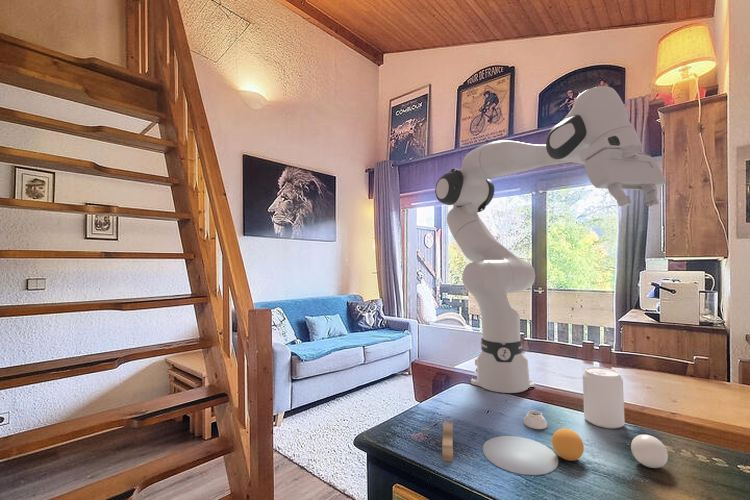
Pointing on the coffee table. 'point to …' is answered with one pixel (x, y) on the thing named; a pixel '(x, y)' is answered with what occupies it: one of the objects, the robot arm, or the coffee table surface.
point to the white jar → (535, 420)
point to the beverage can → (603, 397)
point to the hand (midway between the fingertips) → (639, 205)
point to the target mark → (520, 455)
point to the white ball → (649, 451)
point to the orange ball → (567, 444)
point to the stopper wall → (447, 442)
